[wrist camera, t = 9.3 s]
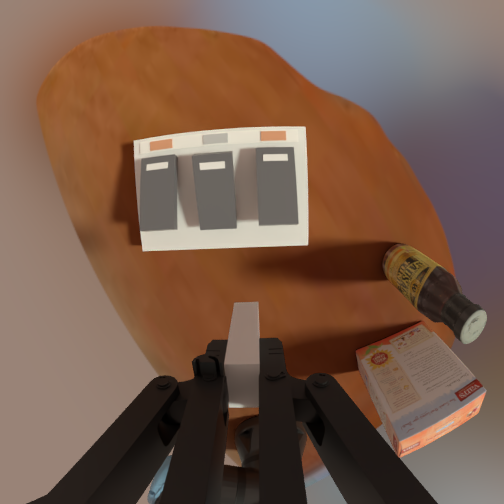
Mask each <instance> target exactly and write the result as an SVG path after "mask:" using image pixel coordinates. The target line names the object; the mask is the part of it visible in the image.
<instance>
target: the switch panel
mask: <svg viewBox="0 0 504 504" xmlns="http://www.w3.org/2000/svg"><path fill="white" fill-rule="evenodd" d="M263 147H294V156H295V170H296V185H297V202H298V222H299V224H298V225H274V226H259V220H258V193H257V168H256V148H263ZM224 151H233V166H234V181H235V196H236V210H237V229H215V230H200V224H199V217H198V209H197V200H196V192H195V183H194V174H193V164H192V155H194V154H200V153H211V152H224ZM172 154H175V155H176V156H177V157H178V176H177V224H178V230H164V231H148V232H143V231H140V233H141V241H142V249H143V251H161V250H187V249H213V248H240V247H269V246H299V245H308V176H307V149H306V129H305V127H249V128H232V129H218V130H207V131H197V132H188V133H180V134H172V135H165V136H159V137H152V138H146V139H141V140H135V141H134V161H135V180H136V194H137V205H138V215H139V225H140V177H141V159H143V158H149V157H156V156H164V155H172Z"/></svg>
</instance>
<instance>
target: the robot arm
mask: <svg viewBox="0 0 504 504" xmlns="http://www.w3.org/2000/svg"><path fill="white" fill-rule="evenodd" d="M192 365H193V371H194V376H195V377H194V379H192V380H189V381H184V382H177V380H176V379H175V378H174V377H171V376H166V375H164V376H159V377H156V378H154V379H153V380H152V381H151V382H150V383H149V384H148V385H147V386H146V387H145V388H144V389H143V390H142V392H141V393H140V394H139V395H138V396H137V397H136V398H135V399H134V400H133V402H132V403H131V404H130V405H129V406H128V407H127V408H126V409H125V411H124V412H123V413H122V414H121V415H120V416H119V417H118V418H117V419H116V420H115V422H114V423H113V424H112V425H111V426H110V427H109V428H108V429H107V430H106V431H105V433H104V434H103V435H102V436H101V437H100V438H99V439H98V440H97V441H96V442H95V443H94V445H93V446H92V447H91V448H90V449H89V450H88V451H87V452H86V453H85V454H84V455H83V457H82V458H81V459H80V460H79V461H78V462H77V463H76V464H75V465H74V466H73V468H71V470H70V471H69V472H68V473H67V474H66V475H65V476H64V477H63V478H62V479H61V480H60V481H59V483H58V484H57V485H56V486H55V487H54V488H53V489H52V490H51V491H50V492H49V493H48V494H47V495H45V496H43V497H41V498H38V499H36V500H34V501H32V502H30V503H27V504H136V503H137V502H138V500H139V499H140V497H141V496H142V494H143V493H144V491H145V490H146V488H147V487H148V485H149V484H150V482H151V481H152V479H153V478H154V479H153V481H152V484H151V487H150V491H149V494H148V502H149V503H150V504H307V498H306V490H305V483H304V475H303V468H302V461H301V459H302V455H303V452H304V448H305V445H306V441H307V434H308V436H309V438H310V439H311V441H312V443H313V445H314V447H315V448H316V450H317V452H318V454H319V456H320V457H321V459H322V461H323V463H324V464H325V466H326V468H327V470H328V472H329V473H330V475H331V477H332V478H333V480H334V482H335V484H336V485H337V487H338V488H339V491H340V492H341V494H342V495H343V497H344V499H345V501H346V502H347V504H438V503H437V502H436V501H435V500H434V499H433V497H432V496H431V495H430V494H429V493H428V491H427V490H426V489H425V488H424V487H423V486H422V484H421V483H420V482H419V481H418V480H417V479H416V477H415V476H414V475H413V474H412V472H411V471H410V470H409V469H408V468H407V467H406V465H405V464H404V463H403V462H402V461H401V459H400V458H399V457H398V456H397V454H396V453H395V452H394V451H393V450H392V449H391V447H390V446H389V445H388V444H387V443H386V441H385V440H384V439H383V438H382V436H381V435H380V434H379V433H378V431H377V430H376V429H375V428H374V427H373V425H372V424H371V423H370V422H369V420H368V419H367V418H366V417H365V415H364V414H363V413H362V412H361V411H360V409H359V408H358V407H357V406H356V404H355V403H354V402H353V401H352V399H351V398H350V397H349V396H348V394H347V393H346V392H345V391H344V389H343V388H342V387H341V386H340V384H339V383H338V382H337V381H336V379H335V378H334V377H332V376H331V375H329V374H326V373H316V374H313V375H310V376H309V377H308V378H307V379H306V380H301V379H296V378H294V377H292V376H290V375H289V374H288V373H287V371H286V365H285V359H284V352H283V346H282V342H281V341H280V340H279V339H278V338H259V312H258V302H242V303H234V308H233V314H232V320H231V326H230V331H229V337H228V340H212V341H211V342H210V343H209V344H208V346H207V350H206V353H205V354H203V355H200V356H197V357H196V358H194V360H193V361H192ZM228 404H229V407H234V408H244V407H259V416H257V417H253V418H251V419H248V420H246V421H244V422H243V423H241V424H240V425H239V426H238V427H237V429H236V431H235V445H236V448H237V451H238V454H239V456H240V459H241V462H242V467H237V466H230V465H224V458H225V448H226V439H227V429H228V420H229V412H228ZM301 422H302V423H301ZM306 432H307V434H306ZM174 445H175V446H174ZM173 447H174V450H173V454H172V455H170V456H168V455H169V453H170V452H171V450H172V448H173Z"/></svg>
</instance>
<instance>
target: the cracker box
mask: <svg viewBox="0 0 504 504" xmlns="http://www.w3.org/2000/svg"><path fill="white" fill-rule="evenodd" d="M356 356H357V362H358V368H359V372H360V375H361V377H362V379H363V381H364V383H365V385H366V388H367V390H368V392H369V394H370V396H371V398H372V401H373V403H374V405H375V407H376V409H377V412H378V414H379V416H380V418H381V421H382V423H383V425H384V427H385V430H386V432H387V434H388V436H389V439H390V441H391V444H392V446H393V448H394V451H395V453H396V454H397V456H398V457H399V458H400V457H402V456H404V455H406V454H409V453H411V452H413V451H415V450H417V449H419V448H421V447H423V446H425V445H427V444H429V443H431V442H433V441H434V440H436V439H438V438H440V437H442V436H443V435H445V434H447V433H448V432H450V431H452V430H453V429H455V428H457V427H458V426H460V425H461V424H463V423H465V422H466V421H467V420H469V419H471V418H472V417H474V416H475V415H476V414H478V412H479V410H480V407H481V404H482V402H483V399H484V396H485V393H486V389H485V388H484V387H483V386H482V385H481V384H480V382H479V381H478V380H477V379H476V377H475V376H474V375H473V374H472V373H471V372H470V370H469V369H468V368H467V367H466V366H465V365H464V364H463V363H462V361H461V360H460V359H459V358H458V357H457V356H456V355H455V354H454V353H453V352H452V350H451V349H450V348H449V347H448V346H447V345H446V344H445V343H444V342H443V341H442V340H441V339H440V338H439V337H438V336H437V335H436V334H435V332H434V331H433V330H432V329H431V328H430V327H429V326H428V325H427V324H426V323H425V322H424V321H421V322H419V323H417V324H415V325H413V326H411V327H409V328H407V329H405V330H402V331H400V332H398V333H396V334H394V335H391V336H389V337H387V338H385V339H382V340H380V341H378V342H375V343H373V344H370V345H368V346H365V347H363V348H360V349H358V350H356Z"/></svg>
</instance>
